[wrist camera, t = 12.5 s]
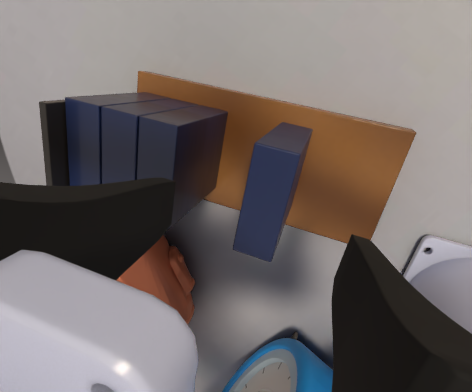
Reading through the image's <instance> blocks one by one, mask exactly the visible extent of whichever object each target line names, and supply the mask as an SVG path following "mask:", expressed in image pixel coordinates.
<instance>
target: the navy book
mask: <svg viewBox="0 0 472 392" xmlns="http://www.w3.org/2000/svg"><path fill="white" fill-rule="evenodd" d="M312 132H313V129H310V128H306V127H302V126H298V125H293V124H289V123H285V122H281V123H280V124H279V125H277V126H276V127H275V128H274V129H272V130H271V131H270V132H268V133H267V134H266V135H264V136H263V137H262V138H261V139H259V140H258V141H257V142H255V144H254V148H253V153H252V158H251V162H250V167H249V172H248V177H247V182H246V187H245V192H244V196H243V201H242V206H241V211H240V216H239V221H238V226H237V230H236V235H235V240H234V245H233V250H235V251H238V252H241V253H244V254H247V255H250V256H253V257H256V258H259V259H262V260H265V261H268V262H271V261H272V259H273V256H274V253H275V251H276V248H277V245H278V242H279V239H280V237H281V234H282V231H283V228H284V226H285V223H286V220H287V217H288V215H289V212H290V209H291V206H292V202H293V199H294V195H295V192H296V188H297V185H298V181H299V178H300V174H301V171H302V167H303V164H304V160H305V156H306V153H307V149H308V146H309V142H310V139H311V135H312Z"/></svg>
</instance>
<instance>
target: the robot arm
mask: <svg viewBox="0 0 472 392" xmlns="http://www.w3.org/2000/svg"><path fill="white" fill-rule="evenodd" d="M175 184H176V181H172V180H169V179H166V178H146V179H138V180H130V181H123V182H115V183H105V184H96V185H82V186H43V185H23V184H12V183H2V182H0V392H195V377H196V372H197V366H198V361H199V359H198V352H197V346H196V339H195V335H194V333H193V332H192V330H191V329H190V328H189V326H188V325H187V323H186V322H185V321H184V319H183V318H182V317H181V315H180V314H179V312H178V311H177V310H176V309H174V308H173V307H171V306H169V305H168V304H166V303H165V302H163V301H162V300H160V299H159V298H157V297H155V296H154V295H151V294H149V293H146V292H144V291H141V290H139V289H136V288H134V287H131V286H129V285H126V284H124V283H121V282H118V281H116V280H117V279H118V278H119V277H120V276H121V275H122V274H123V273H124V272H125V271H126V270H127V269H128V268H130V267H131V266H132V265H133V264H134V263H135V262H136V261H137V260H138V259H139V258H140V257H141V256H143V255H144V254H145V253H146V252H147V251H148V250H149V249H150V248H151V247H152V246H153V245H154V244H155V243H156V242H157V241H158V240H159V239H160V238H161V237H162V236H163V234H164V233H165V232H166V231H167V229H168V228H169V227H170V225H171V224H172V214H173V204H174V194H175ZM427 247H429V248H431V249H430V250H429V251H423V249H424V248H427ZM332 327H333V354H334V358H333V379H332V392H472V246H469V245H465V244H462V243H458V242H455V241H451V240H448V239H444V238H441V237H437V236H434V235H427V236H425V237H423V238H422V239H421V241H420V243H419V245H418V247H417V249H416V251H415V253H414V255H413V257H412V259H411V261H410V263H409V265H408V267H407V269H406V271H405V273H404V275H403V276H402V275H401V274H400V273H399V272H398V270H397V269H396V268H395V267H394V266H393V265H392V264H391V263H390V262H389V261H388V259H387V258H386V257H385V256H384V255H383V254H382V253H381V251H380V250H379V249H378V248H377V247H376V246H375V245H374V244H373V243H372V242H371V241H370V240H369V239H367V238H363V237H360V236H357V235H353V234H351V237H350V239H349V242H348V244H347V247H346V250H345V252H344V255H343V257H342V260H341V262H340V265H339V267H338V270H337V273H336V275H335V278H334V285H333V293H332Z"/></svg>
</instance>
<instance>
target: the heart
mask: <svg viewBox="0 0 472 392" xmlns="http://www.w3.org/2000/svg"><path fill="white" fill-rule="evenodd" d="M116 281H118V282H121V283H124V284H126V285H129V286H131V287H134V288H136V289H139V290H141V291H144V292H146V293H149V294H151V295H154V296H155V297H157V298H159V299H160V300H162V301H163V302H165V303H166V304H168V305H169V306H171V307H173V308H174V309H176V310H177V311H178V312H179V314H180V315H181V317H182V318H183V319H184V321H185V322H186V323H187V325H188V324H189V322H190V320H191V318H192V317H193V314H194V304H193V301H192V296H191V293H190V292H191V290H192V289H193V286H194V285H195V281H194V279H193V278H192V277H191V275H190V273H189V271H188V269H187V267H186V264H185V262H184V257H183V255H182V254H180V252H179V250H178V249H177V248H176V247H175V246H169V245H168V241H167V239H166V238H165V237H164V235H163V236H162V237H161V238H160V239H159V240H158V241H157V242H156V243H155V244H154V245H153V246H152V247H151V248H150V249H149V250H148V251H147V252H146V253H145V254H144V255H143V256H141V257H140V258H139V259H138V260H137V261H136V262H135V263H134V264H133V265H132V266H131V267H130V268H128V269H127V270H126V271H125V272H124V273H123V274H122V275H121V276H120V277H119V278H118V279H117V280H116Z"/></svg>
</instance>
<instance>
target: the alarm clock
mask: <svg viewBox="0 0 472 392" xmlns="http://www.w3.org/2000/svg"><path fill="white" fill-rule="evenodd" d="M297 336H298V333H297V332H294V334H293V335H292V336H291V338H282V339H277V340H275V341H272V342H270V343H268V344H266V345H265V346H263V347H262V348H260V349H259V350H258V351H256V352H255V353H254V354H253V355H252V356H251V357H250V358H248V359H247V360H246V361H245V363H244V364H243V365H242V366H241V367H240V368H239V369H238V370H237V372H236V373H235V374H234V375H233V377H232V378H231V379H230V381H229V382H228V383H227V385H226V386H225V388H224V389H223V391H222V392H332V379H333V370H332V369H331V368H330V367H329V366H327V365H326V364H325V363H324V362H323V361H322V360H321V359H319V358H318V357H317V356H316V355H315V354H314V353H313V352H312V351H310V350H309V349H308V348H307V347H306V346H305V345H304V344H302V343H301V342H299V341H297Z"/></svg>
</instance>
